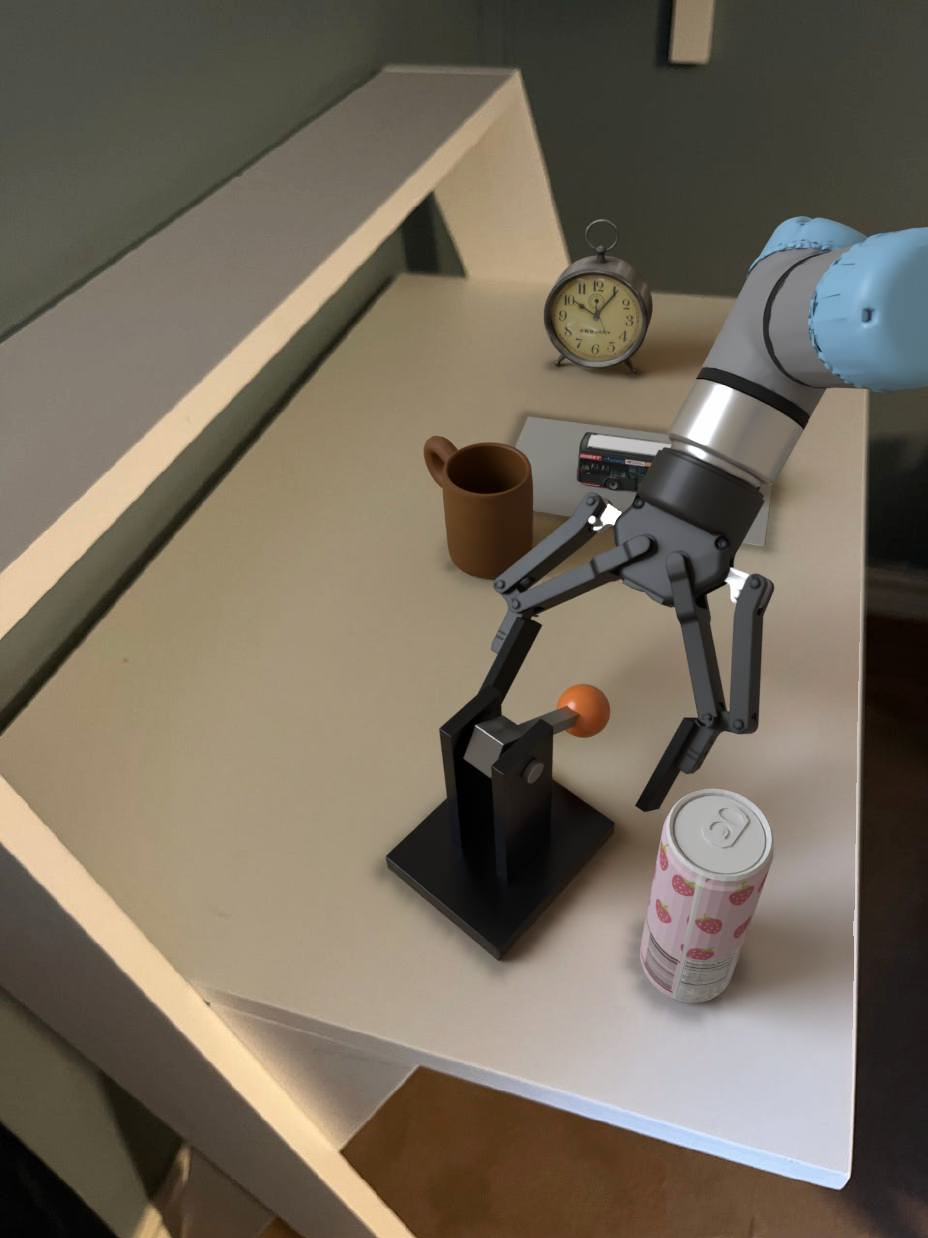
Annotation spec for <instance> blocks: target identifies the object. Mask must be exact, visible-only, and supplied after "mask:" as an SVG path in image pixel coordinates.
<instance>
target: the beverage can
mask: <svg viewBox="0 0 928 1238" xmlns="http://www.w3.org/2000/svg"><path fill="white" fill-rule="evenodd" d="M774 842H775V839H774V833H773V829H772V826H771V824H770V821H769V820H768V817H766V815H765V814H764V813H763V811H762V810H761V809H760V808H759V807H758V806H757V805H756V804H755V803H754V802H752V801H751V800H749V799H748V798H747V797H745V796H743V795H741V794H738V793H736V792H733V791H730V790H727V789H722V788H703V789H699V790H695V791H693V792H690V793H688V794H686V795H684V796H683V797H681V798H679V800H677V801H676V802H675V804H674V805H673V807H672V808H671V809H670V811H669V813H668V814H667V816H666V818H665V821H664V823H663V826H662V830H661V836H660V841H659V845H658V852H657V857H656V862H655V868H654V872H653V876H652V877H653V878H652V883H651V889H650V894H649V899H648V902H647V903H648V904H647V909H646V915H645V918H644V919H645V920H644V923H643V924H644V925H643V931H642V935H641V941H640V947H639V956H640V957H639V959H640V963H641V966H642V970H643V972H644V974H645V975H646V977H647V979H648V980H649V981H650V982H651V984H652V985H653V986H654V987H655V988H656V989H657V990H658V991H659V992H661V993H662V994H664V995H666V996H667V997H669V998H671V999H673V1000H677V1001H678V1002H683V1003H690V1004H693V1003H703V1002H707V1001H711V1000H712V999H713V998H716V997H718V996H719V995H721V993H723V992H724V991H725V990H726V989H727V987H728V986H729V984H730V982H731V980H732V977H733V975H734V972H735V970H736V966H737V963H738V960H739V957H740V955H741V953H742V949H743V947H744V943H745V941H746V937H747V935H748V932H749V929H750V926H751V923H752V920H753V917H754V914H755V911H756V909H757V906H758V904H759V900H760V898H761V894H762V891H763V889H764V886H765V883H766V880H767V877H768V875H769V871H770V868H771V866H772V863H773V860H774V852H775V851H774V850H775V847H774V845H775V843H774Z"/></svg>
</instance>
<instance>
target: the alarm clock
mask: <svg viewBox="0 0 928 1238" xmlns="http://www.w3.org/2000/svg"><path fill="white" fill-rule="evenodd" d="M600 223H601V224H603V223H604V224H606V225H609V226H610V227H612V228H613V229H614V232H615V235H616V236H615V241H614V243H613V244H612V245H611V246H610V247H608V248H606V247H605V246H604V245H599V246H594V245H593V244H592V243H591V242H590V238H589V232H590V230H591V228H592V227H594V226H595V225H597V224H600ZM584 233H585V234H584V236H585V241H586V243H587V244H588V246H589V247H590V248H591V249H592V250H594V251H595V252H596V255H591V256H586V257H582V258H581V259H578V260H575V262H573V263H571V264H569V265H568V266H567V267H566V268H565V269H564V270H563V271H561V273H560V274H559V276H558V278H557V279H556V281H555V282H554V284H553V286H552V288H551V290H550V292H549V294H548V295H547V297H546V300H545V304H544V308H543V325H544V329H545V332H546V335H547V337H548V339H549V341H550V344H551V345H552V346H553V347H554V349H556V351H557V352H558V353H559V354H560V355H559V357H557V359H556V360H555V361H554V366H555V367H559V366H560V365H561V363H562V362H563V361H564V360H568V361H569V362H571V363H573V364H575V365H578V366H581V367H583V368H589V369H608V368H612V367H613V368H614V367H616V366H619V365H621V364H623V363H624V365H625V366H627V368H628V369H629V371H630V372H631V374H632V375H637V373H638V369H637V368H636V367H635V366H634V364H633V361H632V359H631V358H632V357H633V356H634V355H635V354H636V353H637V352H638V351H639V349H640V348H641V347H642V345H643V343H644V342H645V339H646V336H647V333H648V329H649V326H650V323H651V320H652V316H653V310H654V309H653V297H652V293H651V290H650V287H649V285H648V283H647V281H646V278H644V276H643V275H642V274H641V273H640V272H639V270H637V269H636V268H635V267H634V266H632V265H631V264H630V263H628V262H626V261H625V260H622V259H620V258H618V257H614V256H611V255H605V254H606V252H609V251H612V250H613V249H615V247H616V246H617V245H618V242H619V239H620V231H619V228H618V227H617V226H616V224H615V223H613V221H611V220H608V219H605V218H600V219H596V220H593V221H592V222H591V223H589V224H588V226H587V227H586V229H585V231H584Z"/></svg>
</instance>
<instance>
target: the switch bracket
mask: <svg viewBox="0 0 928 1238" xmlns="http://www.w3.org/2000/svg"><path fill="white" fill-rule="evenodd" d="M478 692H479V691H478ZM478 692H477V694H476V695H475V696H474V697H472V698H471V699H470V700H469V701H468V702H467V703H466V704H464V706H462V707H461V708H460V709H459V710H458V711H457V712H456V713H455V714H454V715H453V716H451V717H450V718H448V719H447V720H446V722H444V724H442V725H441V726H440V727H439V728H438V732H439V733H438V734H439V741H440V750H441V758H442V767H443V775H444V784H445V792H446V793H445V794H446V798H445V799H444V800H443V801H442V802H441V803H440V804H439V805H438V806H437V807H435V808H434V810H432V811H431V812H430V813H429V814H428V815H427V816H426V817H425V818H424V819H423V820H422V821H421V822H419V824H417V825H416V827H415V828H414V829H413V830H411V831H410V832H409V833H408V834H407V835H406V836H405V837H404V838H403V839H402V840H401V841H400V842H399V843H398V844H396V846H395V847H393V849H392V850H390V851H389V852H388V853H387V854H386V855H385V861H386V866H387V869H389V870H390V871H391V872H392V873H393V874H395V875H396V876H397V877H398V878H399V879H401V880H402V881H403V882H404V883H405V884H407V885H408V886H409V887H410V888H411V889H412V890H414V891H415V892H416V893H417V894H418V895H420V896H421V897H422V898H423V899H424V900H426V901H427V903H429V904H430V905H431V906H432V907H434V908H435V909H436V910H437V911H438V912H439V913H441V914H442V915H443V916H444V917H445V918H447V919H448V920H449V921H450V922H452V924H453V925H455V926H456V927H458V928H459V930H460V931H462V932H463V933H465V934H466V935H467V936H468V937H469V938H470V939H472V940H473V941H474V942H475V943H476V944H477V945H479V946H480V947H481V948H482V949H484V950H485V951H486V952H487V953H488V954H490V955H491V956H492V957H493V958H494V959H495V960H497V962H501V961H502V959H504V957H505V956H506V955H507V954H508V952H509V951H511V950H512V948H513V947H514V946H515V945H516V944H517V943H518V942H519V940H521V939H522V937H523V936H524V935H525V934H526V932H528V930H529V929H530V928H531V927H532V925H534V923H536V922H537V920H538V919H539V918H540V917H541V916H542V914H544V912H545V911H546V910H547V909H548V908H549V907H550V906H551V904H552V903H553V902H555V900H556V899H557V898H558V897H559V896H560V894H561V893H562V892H563V891H564V890H565V889H567V887H568V886H569V884H571V882H573V880H574V879H575V878H576V877H577V876H578V875H579V874H580V873H581V871H582V870H583V869H584V868H585V867H586V865H588V863H589V862H590V861H591V860H592V859H593V858H594V857H595V856H596V854H597V853H598V852H599V851H601V848H603V846H604V845H605V844H606V843H608V841H609V840H610V839H611V838H612V837H613V835H614V834H615V827H616V821H614V820H613V819H611V818H609V817H608V816H606V815H605V814H604V813H603V812H601V811H599V810H598V809H597V808H595V807H594V806H592V805H591V804H590V803H588V802H587V801H586V800H584V799H582V798H581V797H579V796H578V795H576V794H575V793H574V792H572V791H570V790H569V789H568V788H566V787H565V786H564V785H562V784H560V783H559V782H558V781H556V780H555V779H553V769H554V767H553V765H554V764H553V763H554V735H553V732H554V727H553V726H552V725H550V724H549V723H547V722H546V721H544V720H543V719H539V720H538V721H537V722H536V723H535V724H534V725H533V726H532V727H531V728H530V729H529V730H528V731H527V732H526V733H525V734H524V735H523V736H522V737H521V738H520V739H519V740H518V741H516V742H515V743H514V744H513V745H512V746H511V747H510V748H509V749H508V750H507V751H506V752H505V753H504V754H503V755H502V756H501V757H500V758H499V759H498V760H497V761H496V762H495V763H494V764H493V765H492V766H491V775H492V778H489V777H488V776H487V775H485V774H484V773H483V772H481V771H480V770H478V769H477V768H476V767H474V766H473V765H472V764H470V763H469V762H467V761H466V760H465V759H464V755H465V752H466V750H467V747H468V744H469V741H470V738H471V736H472V733H473V730H474V727H475V725H477V724H479V723H482V722H485V721H488V720H490V719H493V718H496V717H498V716H501V715H503V709H502V704H501V692H500V691H499V690H497V689H496V688H494V687H493V686H491V685H490V684H488V685H487V686H486V687H485V688H484V689H483V690H482V691H480V692H479V693H478Z"/></svg>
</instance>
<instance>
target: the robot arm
mask: <svg viewBox="0 0 928 1238" xmlns="http://www.w3.org/2000/svg"><path fill="white" fill-rule="evenodd" d="M724 321H725V322H724V323H723V325H722V327H721V329H720V331H719V332H718V335H717V337H716V338H715V340H714V342H713V345H712V347H711V348H710V350H709V353H708V354H707V356H706V358H705V360H704V362H703V364H702V366H701V368H700V370H699V372H698V374H697V376H696V378H695V381H694V382H693V384H692V386H691V388H690V389H689V391H688V393H687V394H686V397H685V399H684V400H683V402H682V404H681V406H680V408H679V409H678V411H677V413H676V415H675V417H674V419H673V420H672V422H671V424H670V426H669V428H668V430H667V431H666V434H667V435H668V438H669V440H670V441H672V445H671V447H670V448H667V447H664V448H663V449H662V450H658V452H657V454H656V456H655V458H654V459H653V461H652V463H651V465H650V467H649V469H648V471H647V473H646V475H645V477H644V479H643V480H642V482H641V484H640V486H639V488H638V490H637V493H636V496H635V498H634V501H633V503H632V504H631V505H630V507H629V508H628V509H626V510H625V511H624V512H621V511H620V510H618V509H617V508H615V507H614V506H613V505H612V502H611V501H610V500H608V499H606V498H604V497H602V496H600V495H598V494H596V493H594V492H590V493H588V494H586V495H585V496H584V498H583V500H582V501H581V503H580V504H579V506H578V507H577V509H576V510H575V512H574V514H573V515H572V517H569V518H568V519H567V520H566V521H564V522H563V523H562V524H561V525H560V526H558V527H557V528H556V529H555V530H553V532H551V533H550V534H549V535H547V536H546V537H545V538H544V539H543V540H542V541H540V542H539V543H538V544H536V545H535V546H534V547H532V550H530V551H529V552H528V553H527V554H525V555H524V556H523V557H522V558H521V559H519V560H518V561H517V562H516V563H514V564H513V565H512V566H511V567H509V568H508V569H507V570H506V571H505V572H503V573H502V574H501V575H500V576H498V577H497V578H494V581H493V589H494V591H495V592H496V593H498V594H500V595H501V597H502V599H504V601H505V602H506V604H507V611H506V614H505V616H504V618H503V620H502V622H501V624H500V626H499V628H498V630H497V631H496V634H495V636H494V638H493V639H492V641H491V647H490V651H491V652H493V653H495V654H496V656H495V659H494V661H493V663H492V665H491V667H490V669H489V670H488V673H486V676H485V678H484V680H483V682H482V684H481V686H480V688H479V690H478V692H477V694H478V693H479V692H480V691H482V690H483V689H484V688H485V687H486V686H487V685H488V684H490V685H491V686H493V687H494V688H496V689H497V690H499V691H500V692H501V705H503V703H504V701H505V699H506V697H507V694H508V693H509V691H510V689H511V687H512V685H513V683H514V681H515V679H516V678H517V675H518V673H519V672H520V670H521V668H522V666H523V664H524V662H525V660H526V658H527V656H528V654H529V653H530V651H531V648H532V646H533V645H534V642H535V641H536V638H537V637H538V635H539V633H540V632H541V629H542V627H543V624H542V623H541V622H539V621H537V620H536V619H532V618H540V615H539V614H541V613H543V612H546V611H548V610H550V609H552V608H554V607H557V606H560V605H562V604H564V603H567V602H568V601H571V600H573V599H575V598H577V597H579V596H582V595H584V594H587V593H589V592H591V591H593V590H596V589H597V588H600V587H602V586H604V585H607V584H609V583H613V582H618V581H620V580H621V581H622V582H621V584H622V585H624V586H626V587H628V588H629V589H631V590H635V591H638V592H641V593H645V595H646V596H648V597H649V599H651V600H652V601H653V602H656V603H657V604H659V605H661V606H664V607H668V608H670V609H673V608H674V610H675V616H676V619H677V621H678V622H679V626H680V629H681V634H682V640H683V645H684V650H685V655H686V661H687V662H686V663H687V667H688V672H689V678H690V683H691V688H692V695H693V698H694V704H695V710H696V714H697V717H696V716H695V717H694V716H691V717H690V716H689V717H688V716H684V717H683V718H682V720H681V721H680V723H679V725H678V727H677V729H676V731H675V732H674V734H673V736H672V738H671V739H670V741H669V742H668V745H667V746H666V749H665V750H664V752H663V754H662V755H661V757H660V759H659V761H658V763H657V764H656V766H655V768H654V770H653V772H652V774H651V776H650V777H649V779H648V781H647V783H646V784H645V786H644V788H643V790H642V792H641V794H640V795H639V797H638V799H637V801H636V803H635V804H634V807H636V808H637V809H639V810H640V811H642V812H643V813H648V812H652V811H657V810H660V809H661V807H662V805H663V803H664V801H665V799H666V798H667V796H668V794H669V792H670V791H671V789H672V787H673V785H674V783H675V782H676V780H677V778H678V776H679V774H680V773H681V772H682V773H683V774H684V775H692V774H693V775H694V774H695V773H696V772H697V771H698V770H700V769H701V768H702V765H703V764H704V762H705V760H706V758H707V756H708V755H709V753H710V751H711V749H712V748H713V746H714V744H715V742H716V741H717V739H718V737H719V736H720V735H721V734H722V733H725V732H726V733H731V734H735V735H751V734H754V733H755V732H757V730H758V729H759V725H760V724H759V723H760V702H761V701H760V700H761V679H762V657H763V636H764V635H763V633H764V615H765V613H766V611H767V609H768V606H769V604H770V601H771V598H772V596H773V594H774V592H775V584H774V582H773V581H772V580H771V579H769V578H767V577H766V576H764V575H762V574H760V573H755V572H754V573H749V572H746V571H743V570H741V569H738V568H735V558H736V555H737V553H738V551H739V549H740V548H741V546H742V544H744V543H743V541H744V539H745V537H746V535H747V533H748V531H749V530H750V528H751V526H752V524H753V522H754V520H755V519H756V517H757V515H758V513H759V511H760V509H761V508H762V506H763V504H764V502H765V501H764V500H763V497H764V495H763V494H762V493H761V492H759V490H760V488H761V486H771V485H772V486H773V485H774V484H775V483H776V481H777V479H778V477H779V475H780V474H781V472H782V470H783V468H784V467H785V465H786V463H787V461H788V459H789V457H790V456H791V454H792V452H793V451H794V449H795V447H796V446H797V443H798V441H799V440H800V438H801V436H802V434H803V433H804V431H805V429H806V427H807V425H808V424H809V422H810V419H811V418H812V415H813V414H814V411H815V410H816V408H817V407H818V405H819V403H820V402H821V399H822V398H823V396H824V395H825V392H826V391H827V389H856V390H857V389H859V390H869V391H871V392H873V393H883V394H891V393H894V392H897V391H901V390H903V391H904V390H905V391H907V390H917V389H921V388H926V387H928V226H925V227H912V228H908V229H903V230H890V231H889V230H885V231H883V232H880V233H876V234H873V235H870V236H869V237H868V236H867V235H865V234H864V233H862V232H860V231H858V230H856V229H855V228H853V227H850V226H848V225H846V224H844V223H841V222H839V221H835V220H831V219H829V218H824V217H815V218H811V217H808V216H806V215H803V216H802V215H801V216H794V217H791V218H788V219H786V220H784V221H783V222H781V223H780V224H779V225H778V226H777V227H776V228H775V230H774V231H773V232H772V235H771V236H770V238H769V240H768V241H767V242H766V244H765V246H764V247H763V249H762V251H761V253H760V254H759V256H758V257H756V259H755V260H754V261H753V262H752V264H751V265H750V267H749V269H748V273H747V275H746V277H745V282H744V284H743V286H742V288H741V290H740V292H739V294H738V295H737V298H736V300H735V302H734V303H733V305H732V308H731V309H730V311H729V313H728V315H727V318H726V319H725V320H724ZM611 527H613V537H614V547H613V548H610V549H608V550H606V551H604V552H602V553H599V554H597V555H595V556H593V557H592V558H591V559H590V561H587V562H585V563H583V564H581V565H580V566H577V567H574V568H573V569H570V570H568V571H566V572H564V573H562V574H559V575H558V576H555V577H552V578H551V579H548V580H546V581H545V582H542V583H540V584H538V585H536V584H537V583H538V582H539V581H541V580H542V579H544V578H545V577H546V576H547V575H548V574H549V573H551V572H552V571H554V569H556V568H557V567H558V566H560V564H562V563H564V562H565V561H566V560H567V559H569V558H570V557H571V556H573V554H575V553H576V552H577V551H579V550H580V549H581V548H582V547H584V546H585V545H586V544H587V543H588V542H590V541H591V540H592V539H594V537H595V536H596V535H597V534H598V533H600V534H601V533H605V532H606V531H607V530H609V528H611ZM726 585H729V588H730V593H729V597H730V601H731V602H732V603H733V604H735V607H734V613H733V621H732V623H733V624H732V644H731V666H730V685H729V686H730V687H729V688H730V689H729V706H728V707H729V709H727V704H726V699H725V693H724V687H723V683H722V677H721V673H720V668H719V667H720V666H719V663H718V658H717V652H716V647H715V642H714V635H713V632H712V625H711V621H712V616H711V610H710V604H709V600H708V595H709V594H711V593H713V592H715V591H717V590H718V589H721V588H723V587H724V586H726Z"/></svg>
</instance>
